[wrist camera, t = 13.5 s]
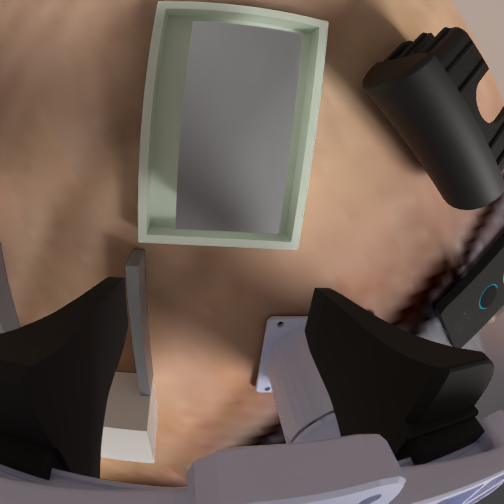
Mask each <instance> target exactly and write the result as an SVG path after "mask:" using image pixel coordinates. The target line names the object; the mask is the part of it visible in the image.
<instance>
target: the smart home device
mask: <svg viewBox="0 0 504 504" xmlns="http://www.w3.org/2000/svg"><path fill="white" fill-rule="evenodd" d="M503 305H504V234H503V235H502V236H501V237H500V239H499V240H498V241H497V242H496V243H495V244H494V246H493V247H492V248H491V249H490V250H489V251H488V252H487V253H486V254H485V256H484V257H483V258H482V259H481V260H480V261H479V262H478V263H477V264H476V265H475V266H474V267H473V269H472V270H471V271H470V272H469V273H468V274H467V275H466V276H465V277H464V278H463V279H462V280H461V281H460V282H459V283H458V284H457V285H456V286H455V287H454V288H453V289H452V290H451V291H450V292H449V293H448V294H447V295H446V296H445V297H444V298H443V299H442V300H441V301H440V302H439V303H438V304H437V306H436V307H435V311H436V313H437V315H438V317H439V319H440V322H441V324H442V326H443V328H444V331H445V333H446V335H447V337H448V339H449V341H450V344H451V345H452V346H453V347H456V348H461V347H463V346H464V345H465V344H466V343H467V342H468V341H469V340H470V339H471V338H472V337H473V336H474V335H475V334H476V333H477V332H478V331H479V330H480V329H481V328H482V327H483V326H484V325H485V324H486V323H487V322H488V321H489V320H490V319H491V318H492V317H493V316H494V314H495V313H496V312H497V311H498V310H499V309H500V308H501V307H502V306H503Z"/></svg>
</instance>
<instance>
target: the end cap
mask: <svg viewBox="0 0 504 504" xmlns="http://www.w3.org/2000/svg"><path fill="white" fill-rule="evenodd" d="M488 69H489V68H488V66H487V64H486V62H485V61H484V59H483V57H482V56H481V54H480V52H479V51H478V49H477V48H476V46H475V44H474V43H473V41H472V40H471V38H470V37H469V35H468V34H467V33H466V32H465V31H464V30H463V29H461V28H458V27H454V28H447V27H444V28H443V29H442V30H441V31H440V32H439V33H438V34H437V35H436V37H434V36H433V35H432V33H428V34H427V33H422V34H421V35H420V36H419V37H418V38H417V39H416V40H415V41H414V42H412V41H406V42H404V43H402V44H401V45H400V46H399V47H398V48H397V49H396V50H395V51H394V52H393V53H392V54H391V55H390V56H389V57H388V58H387V59H386V60H384V61H383V62H379V63H376V64H375V65H374V66H373V67H372V68H371V69H370V71H369V72H368V73H367V75H366V76H365V78H364V81H363V89H364V91H365V92H366V94H367V95H368V96H369V97H370V98H371V99H372V101H373V102H374V103H375V104H376V105H377V106H378V108H379V109H380V110H381V111H382V113H383V114H384V115H385V116H386V117H387V119H388V120H389V121H390V123H391V124H392V125H393V126H394V128H395V129H396V130H397V132H398V133H399V134H400V135H401V137H402V138H403V139H404V141H405V142H406V144H407V145H408V146H409V148H410V149H411V150H412V152H413V153H414V155H415V156H416V157H417V159H418V160H419V162H420V163H421V165H422V166H423V168H424V169H425V171H426V172H427V174H428V175H429V177H430V178H431V180H432V181H433V183H434V184H435V186H436V187H437V189H438V191H439V192H440V194H441V195H442V197H443V199H444V200H445V201H446V202H447V203H448V204H449V205H451V206H452V207H454V208H457V209H462V210H473V209H478V208H482V207H484V206H486V205H489V204H490V203H492V202H493V201H495V200H496V199H498V198H499V197H500V196H501V195H502V194H503V193H504V179H503V176H502V174H501V171H502V170H503V168H504V107H503V108H502V110H501V111H500V113H499V114H498V116H497V117H496V118H495V120H494V121H493V122H491V123H487V122H486V121H485V120H484V119H483V118H482V116H481V114H480V112H479V110H478V107H477V102H476V89H477V85H478V83H479V81H480V80H481V79H482V77H483V76H484V75H485V73H486V72H487V71H488Z"/></svg>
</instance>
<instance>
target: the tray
mask: <svg viewBox="0 0 504 504" xmlns="http://www.w3.org/2000/svg"><path fill="white" fill-rule="evenodd" d="M193 21H207V22H222V23H233V24H242V25H251V26H258V27H265V28H272V29H278V30H284V31H289V32H295V33H300V34H303V40H302V50H301V59H300V68H299V77H298V86H297V95H296V104H295V112H294V121H293V129H292V137H291V145H290V153H289V161H288V169H287V177H286V184H285V192H284V199H283V207H282V214H281V221H280V228H279V234H270V233H251V232H231V231H210V230H188V229H175V226H176V197H177V177H178V160H179V145H180V132H181V120H182V109H183V99H184V89H185V80H186V71H187V63H188V55H189V47H190V40H191V33H192V26H193ZM328 24H329V22H327V21H323V20H319V19H315V18H311V17H307V16H302V15H297V14H293V13H288V12H282V11H277V10H271V9H264V8H258V7H251V6H243V5H234V4H223V3H211V2H191V1H158V4H157V9H156V14H155V20H154V25H153V31H152V37H151V44H150V51H149V58H148V65H147V73H146V81H145V90H144V100H143V111H142V123H141V137H140V155H139V180H138V243H160V244H181V245H202V246H222V247H243V248H263V249H283V250H298V246H299V241H300V235H301V229H302V223H303V217H304V211H305V204H306V198H307V192H308V185H309V179H310V172H311V165H312V158H313V151H314V144H315V137H316V130H317V122H318V114H319V106H320V98H321V90H322V81H323V73H324V64H325V54H326V44H327V34H328Z"/></svg>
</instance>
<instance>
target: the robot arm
mask: <svg viewBox="0 0 504 504" xmlns="http://www.w3.org/2000/svg"><path fill="white" fill-rule="evenodd" d="M279 322H283V323H282V324H278V323H279ZM127 327H128V317H127V306H126V292H125V278H118V277H108V278H106V279H105V280H103V281H102V282H100V283H99V284H97V285H96V286H94V287H93V288H92V289H90V290H89V291H87V292H86V293H84V294H83V295H81V296H80V297H79V298H77V299H75V300H74V301H72V302H71V303H69V304H67V305H66V306H64V307H63V308H61V309H59V310H58V311H56V312H54V313H52V314H50V315H48V316H46V317H44V318H42V319H40V320H38V321H35V322H33V323H30V324H28V325H25V326H23V327H20V328H18V329H15V330H11V331H8V332H5V333H1V334H0V504H474V503H476V502H477V501H479V500H480V499H482V498H483V497H485V496H487V495H488V494H490V493H491V492H492V491H494V490H495V489H496V488H497V487H499V486H500V485H501V484H502V483H503V482H504V411H503V410H499V411H497V412H495V413H493V414H491V415H489V416H487V417H485V418H484V419H482V420H481V421H480V422H478V421H477V419H476V418H475V416H477V415H478V410H477V409H476V407H475V406H474V405H475V404H476V403H477V401H478V400H479V398H480V397H481V395H482V394H483V392H484V391H485V389H486V387H487V386H488V384H489V382H490V381H491V378H492V375H493V371H494V370H493V369H494V365H493V362H492V361H491V360H490V359H489V358H488V357H487V356H486V355H485V354H484V353H482V352H480V351H474V350H467V349H461V348H456V347H451V346H447V345H443V344H440V343H436V342H433V341H430V340H427V339H424V338H421V337H418V336H416V335H413V334H411V333H408V332H406V331H404V330H402V329H400V328H397V327H395V326H393V325H391V324H389V323H387V322H386V321H384V320H382V319H380V318H378V317H377V315H375V314H372V313H370V312H368V311H367V310H365V309H363V308H362V307H360V306H359V305H357V304H355V303H354V302H352V301H351V300H349V299H348V298H346V297H344V296H343V295H341V294H339V293H338V292H336V291H334V290H332V289H330V288H315V290H314V294H313V298H312V302H311V306H310V310H309V315H308V316H273V317H270V318H269V319H268V320H267V322H266V328H265V334H264V340H263V346H262V352H261V358H260V364H259V369H258V375H257V381H256V391H257V392H273V395H274V399H275V403H276V407H277V410H278V414H279V418H280V422H281V425H282V429H283V433H284V436H285V440H286V444H277V445H262V446H243V447H236V448H230V449H223V450H217V451H215V452H212V453H210V454H208V455H206V456H203V457H201V458H199V459H197V460H196V461H194V462H193V464H192V466H191V467H190V469H189V471H188V472H187V485H188V486H184V487H161V486H150V485H140V484H132V483H124V482H117V481H111V480H105V479H100V459H101V444H102V435H103V426H104V418H105V412H106V405H107V399H108V395H109V391H110V388H111V385H112V381H113V378H114V375H115V372H116V369H117V366H118V363H119V360H120V356H121V353H122V350H123V347H124V343H125V338H126V333H127ZM266 387H267V388H266Z"/></svg>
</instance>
